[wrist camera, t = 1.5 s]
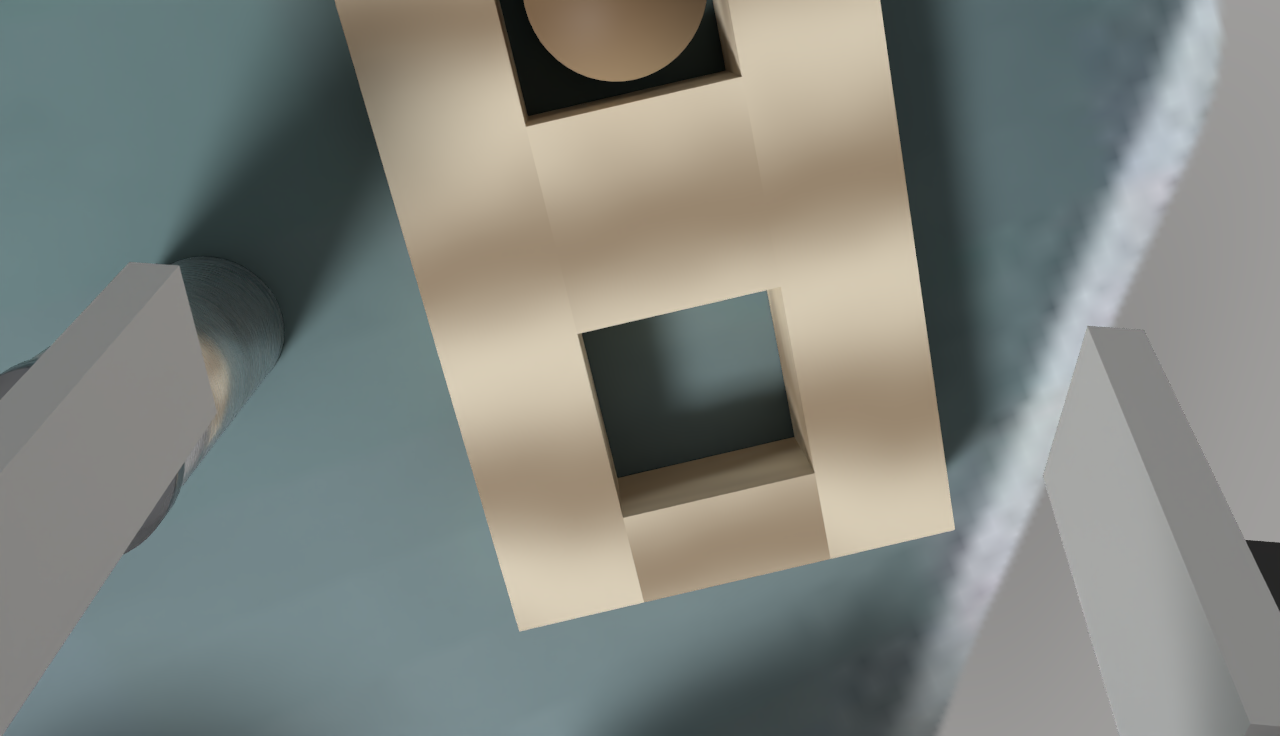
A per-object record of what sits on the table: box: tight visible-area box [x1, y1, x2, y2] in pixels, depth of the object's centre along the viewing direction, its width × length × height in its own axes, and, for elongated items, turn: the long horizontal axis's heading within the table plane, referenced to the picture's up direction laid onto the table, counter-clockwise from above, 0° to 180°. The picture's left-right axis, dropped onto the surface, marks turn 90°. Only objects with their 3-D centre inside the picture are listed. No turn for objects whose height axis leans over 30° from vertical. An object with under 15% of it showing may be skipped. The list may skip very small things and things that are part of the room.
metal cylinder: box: [0, 256, 284, 554], centre depth 29 cm, size 5×5×11 cm
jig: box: [335, 0, 955, 631], centre depth 31 cm, size 24×14×6 cm, turn 12°
